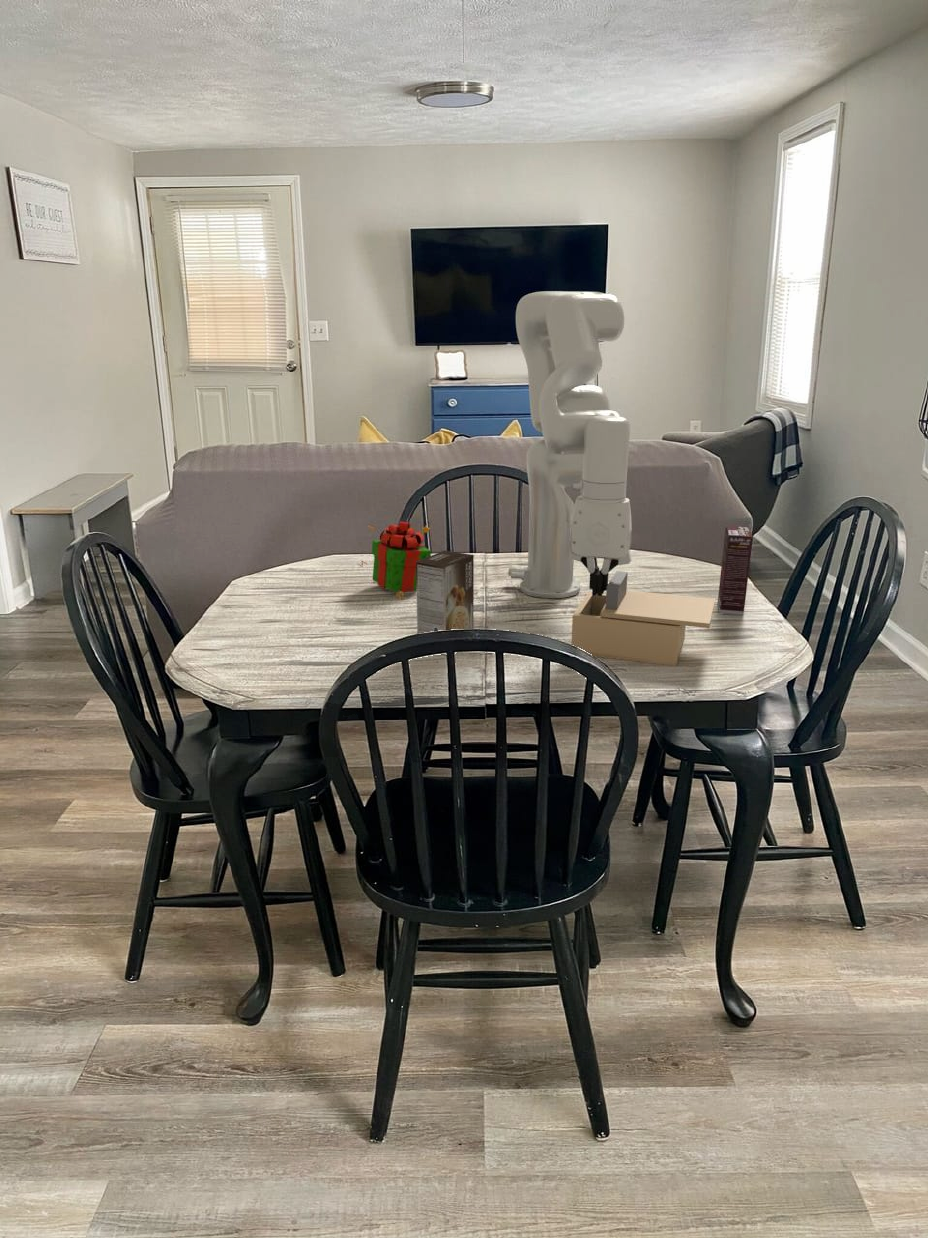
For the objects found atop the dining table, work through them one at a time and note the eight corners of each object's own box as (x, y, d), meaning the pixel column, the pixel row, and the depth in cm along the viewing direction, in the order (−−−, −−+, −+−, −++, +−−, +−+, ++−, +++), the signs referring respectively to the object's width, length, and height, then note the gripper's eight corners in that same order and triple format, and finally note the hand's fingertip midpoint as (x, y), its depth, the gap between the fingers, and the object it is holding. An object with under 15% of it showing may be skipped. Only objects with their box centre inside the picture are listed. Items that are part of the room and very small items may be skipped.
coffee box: (444, 634, 170) (444, 549, 165) (474, 640, 167) (475, 554, 162) (416, 649, 163) (415, 560, 157) (446, 656, 160) (446, 566, 154)
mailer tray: (570, 653, 161) (572, 615, 159) (586, 627, 174) (588, 592, 171) (676, 666, 156) (679, 626, 153) (684, 638, 168) (687, 602, 166)
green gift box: (453, 598, 197) (462, 532, 192) (376, 604, 186) (383, 534, 182) (405, 571, 212) (412, 509, 207) (331, 574, 201) (337, 510, 197)
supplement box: (744, 616, 181) (753, 536, 175) (719, 614, 182) (727, 535, 176) (741, 602, 189) (749, 526, 183) (717, 601, 190) (724, 525, 184)
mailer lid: (600, 616, 157) (601, 589, 156) (614, 593, 170) (615, 568, 168) (709, 628, 152) (711, 600, 150) (715, 603, 165) (717, 577, 163)
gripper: (555, 491, 156) (551, 595, 162) (644, 497, 152) (637, 604, 158) (565, 483, 163) (561, 583, 169) (651, 489, 159) (643, 592, 164)
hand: (598, 593), depth 163 cm, fingers closed
